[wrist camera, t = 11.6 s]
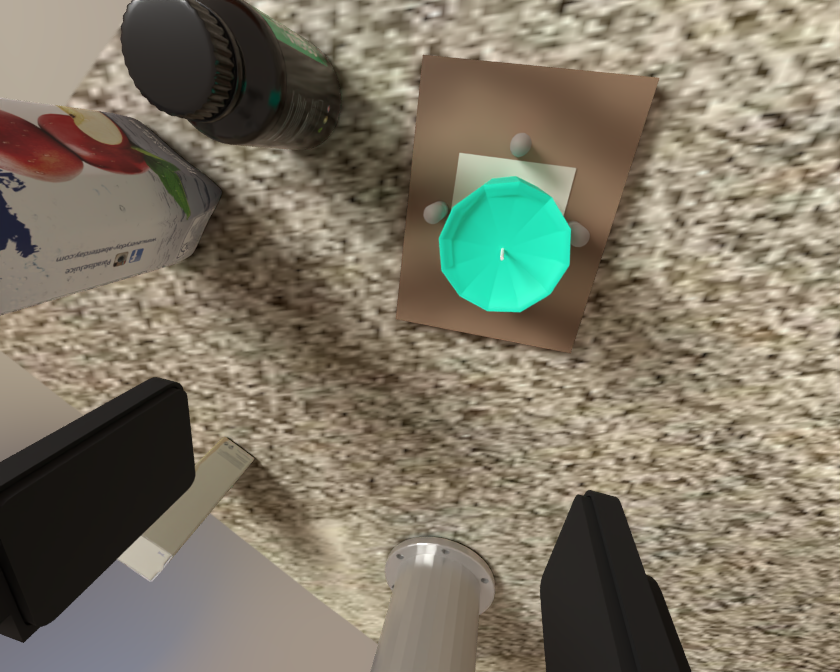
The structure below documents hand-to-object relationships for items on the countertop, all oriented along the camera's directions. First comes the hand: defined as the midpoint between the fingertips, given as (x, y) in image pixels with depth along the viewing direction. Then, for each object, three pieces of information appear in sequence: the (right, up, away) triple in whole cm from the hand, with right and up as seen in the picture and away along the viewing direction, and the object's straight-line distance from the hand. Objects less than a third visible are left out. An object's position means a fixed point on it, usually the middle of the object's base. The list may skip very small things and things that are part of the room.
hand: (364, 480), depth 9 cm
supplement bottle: (-7, +21, +19) cm, 29 cm away
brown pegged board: (+7, +12, +19) cm, 24 cm away
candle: (+7, +11, +18) cm, 23 cm away
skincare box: (-21, -11, +36) cm, 43 cm away
